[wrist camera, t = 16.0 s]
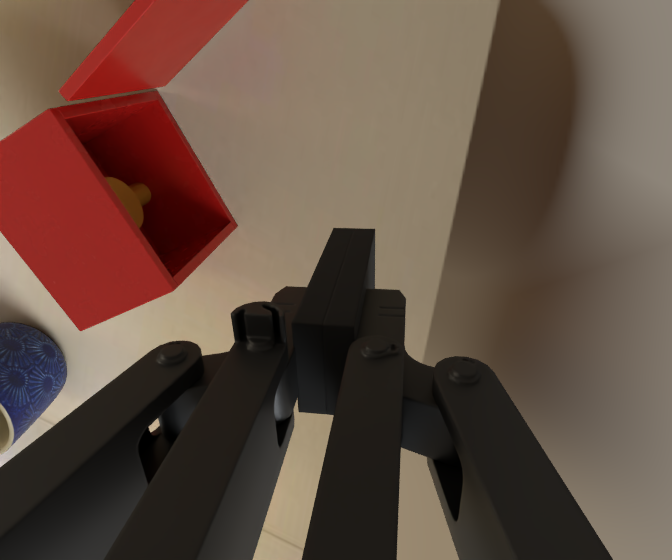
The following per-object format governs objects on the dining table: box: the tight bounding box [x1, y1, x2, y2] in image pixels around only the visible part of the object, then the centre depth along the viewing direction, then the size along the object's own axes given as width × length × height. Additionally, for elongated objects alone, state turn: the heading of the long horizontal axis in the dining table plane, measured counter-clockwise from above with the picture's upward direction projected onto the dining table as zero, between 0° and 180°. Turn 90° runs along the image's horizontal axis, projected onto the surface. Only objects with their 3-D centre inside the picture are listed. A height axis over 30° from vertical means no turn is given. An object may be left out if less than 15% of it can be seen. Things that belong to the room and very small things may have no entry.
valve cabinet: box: [0, 91, 238, 331], centre depth 39 cm, size 10×14×14 cm
